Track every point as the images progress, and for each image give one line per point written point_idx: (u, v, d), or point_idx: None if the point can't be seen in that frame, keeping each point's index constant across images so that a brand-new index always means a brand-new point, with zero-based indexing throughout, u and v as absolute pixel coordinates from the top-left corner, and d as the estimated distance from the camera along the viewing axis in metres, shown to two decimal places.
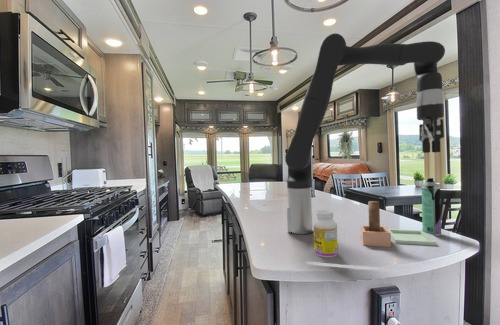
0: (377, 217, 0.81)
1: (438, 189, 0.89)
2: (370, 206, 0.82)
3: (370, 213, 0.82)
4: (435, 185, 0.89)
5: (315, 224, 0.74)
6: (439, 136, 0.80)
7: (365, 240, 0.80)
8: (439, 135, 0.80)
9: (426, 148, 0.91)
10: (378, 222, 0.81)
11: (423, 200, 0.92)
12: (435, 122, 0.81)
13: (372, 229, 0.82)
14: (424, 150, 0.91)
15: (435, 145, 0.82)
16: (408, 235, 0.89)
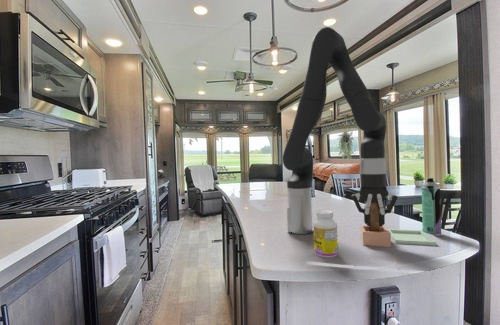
0: (377, 217, 0.81)
1: (438, 189, 0.89)
2: (370, 206, 0.82)
3: (370, 213, 0.82)
4: (435, 185, 0.89)
5: (315, 224, 0.74)
6: None
7: (365, 240, 0.80)
8: None
9: None
10: (378, 222, 0.81)
11: (423, 200, 0.92)
12: None
13: (372, 229, 0.82)
14: None
15: None
16: (408, 235, 0.89)
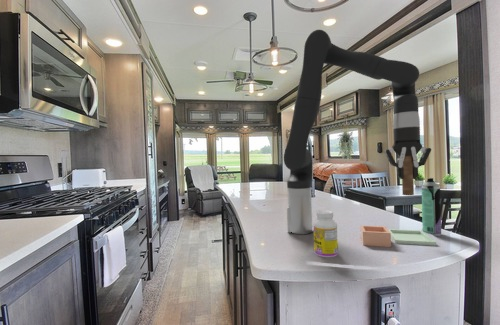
0: (411, 170, 0.84)
1: (438, 189, 0.89)
2: (404, 159, 0.84)
3: (404, 166, 0.85)
4: (435, 185, 0.89)
5: (315, 224, 0.74)
6: None
7: (365, 240, 0.80)
8: None
9: None
10: (412, 174, 0.84)
11: (423, 200, 0.92)
12: None
13: (406, 181, 0.84)
14: None
15: (417, 172, 0.84)
16: (408, 235, 0.89)
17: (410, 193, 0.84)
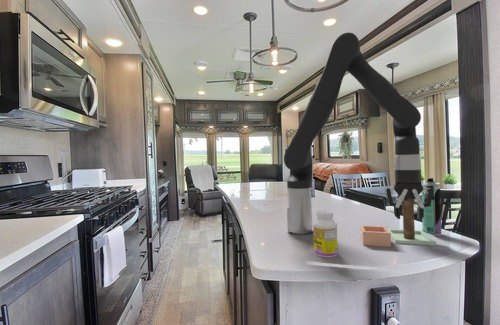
0: (412, 214, 0.84)
1: (438, 189, 0.89)
2: (404, 203, 0.85)
3: (405, 210, 0.85)
4: (435, 185, 0.89)
5: (315, 224, 0.74)
6: None
7: (365, 240, 0.80)
8: None
9: None
10: (413, 219, 0.84)
11: (423, 200, 0.92)
12: None
13: (407, 225, 0.84)
14: None
15: None
16: None
17: (411, 237, 0.84)
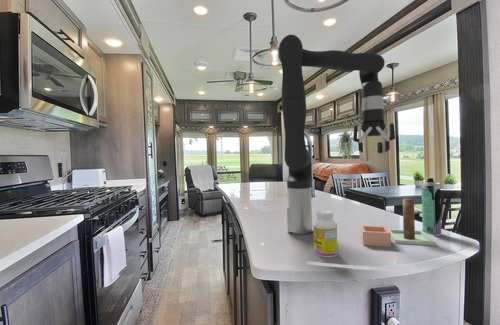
0: (412, 214, 0.84)
1: (438, 189, 0.89)
2: (405, 203, 0.85)
3: (405, 210, 0.85)
4: (435, 185, 0.89)
5: (315, 224, 0.74)
6: None
7: (365, 240, 0.80)
8: None
9: (362, 148, 0.99)
10: (413, 219, 0.84)
11: (423, 200, 0.92)
12: (393, 126, 0.95)
13: (407, 225, 0.84)
14: None
15: None
16: None
17: (411, 237, 0.84)
